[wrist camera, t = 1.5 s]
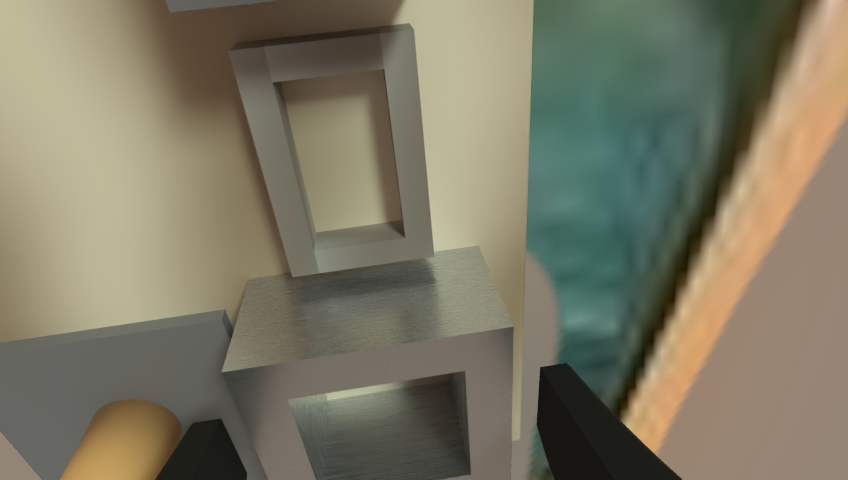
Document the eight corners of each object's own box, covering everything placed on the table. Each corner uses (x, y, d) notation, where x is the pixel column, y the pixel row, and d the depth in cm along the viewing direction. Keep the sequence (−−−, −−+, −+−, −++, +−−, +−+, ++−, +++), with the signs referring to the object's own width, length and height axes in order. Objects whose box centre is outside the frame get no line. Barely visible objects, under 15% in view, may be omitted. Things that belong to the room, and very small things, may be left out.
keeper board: (102, 484, 16) (49, 601, 13) (-470, -270, 7) (-1084, -428, 4) (511, 415, 17) (544, 510, 14) (522, -335, 8) (628, -500, 5)
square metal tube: (300, 428, 15) (290, 529, 12) (249, 278, 12) (221, 372, 9) (483, 397, 15) (510, 490, 12) (479, 245, 12) (513, 326, 9)
